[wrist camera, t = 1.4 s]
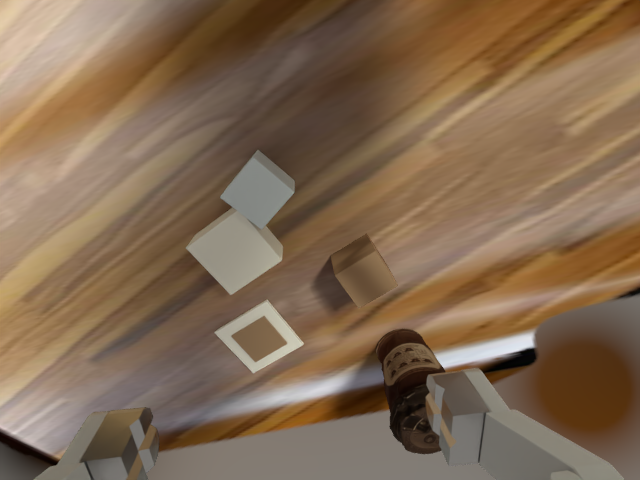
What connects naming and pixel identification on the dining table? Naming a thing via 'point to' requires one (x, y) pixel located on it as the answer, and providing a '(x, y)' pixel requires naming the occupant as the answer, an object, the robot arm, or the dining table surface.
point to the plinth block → (235, 250)
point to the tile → (259, 336)
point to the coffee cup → (409, 388)
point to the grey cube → (259, 190)
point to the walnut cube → (362, 271)
